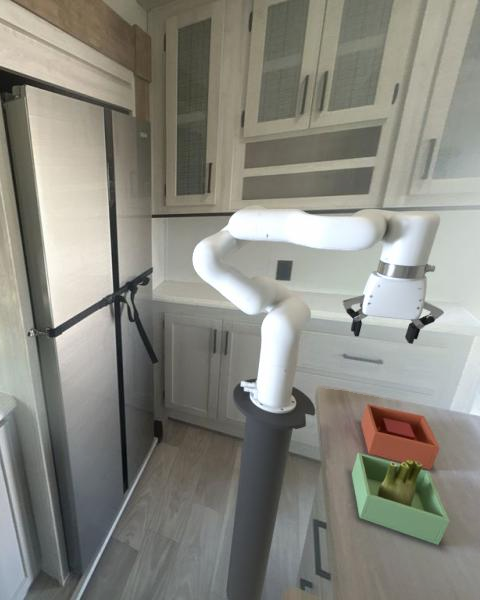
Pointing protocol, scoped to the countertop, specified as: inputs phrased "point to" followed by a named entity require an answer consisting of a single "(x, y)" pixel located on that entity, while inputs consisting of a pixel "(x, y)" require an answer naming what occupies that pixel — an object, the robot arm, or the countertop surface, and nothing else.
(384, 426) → the red block
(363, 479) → the sage bin
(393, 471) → the fennel bulb
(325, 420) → the countertop surface
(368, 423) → the terracotta bin
